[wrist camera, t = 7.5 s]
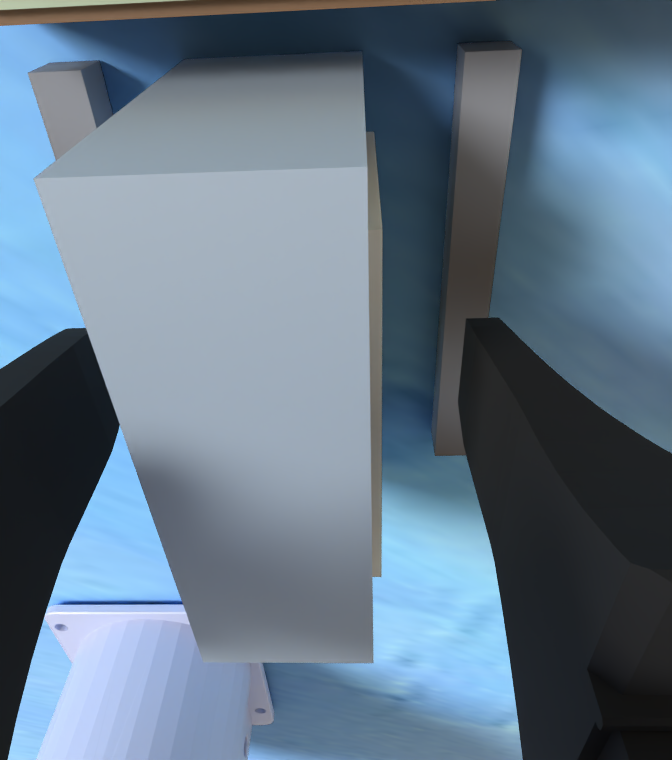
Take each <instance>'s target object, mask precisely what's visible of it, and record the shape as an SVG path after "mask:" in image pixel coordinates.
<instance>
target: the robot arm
mask: <svg viewBox="0 0 672 760" xmlns="http://www.w3.org/2000/svg"><path fill="white" fill-rule="evenodd" d="M458 408H459V416H460V423H461V431H462V438H463V444H464V449H465V452H466V456H467V460H468V464H469V467H470V471H471V475H472V478H473V482H474V485H475V489H476V493H477V496H478V500H479V503H480V507H481V511H482V514H483V518H484V522H485V525H486V529H487V532H488V536H489V540H490V544H491V548H492V553H493V557H494V561H495V567H496V573H497V579H498V585H499V591H500V597H501V604H502V610H503V616H504V623H505V630H506V636H507V643H508V650H509V656H510V663H511V671H512V678H513V686H514V693H515V700H516V708H517V715H518V723H519V731H520V740H521V748H522V756H523V760H672V453H670V452H668V451H666V450H664V449H663V448H661V447H659V446H658V445H656V444H654V443H652V442H651V441H649V440H647V439H646V438H644V437H643V436H641V435H639V434H638V433H636V432H635V431H633V430H632V429H630V428H629V427H627V426H626V425H624V424H623V423H621V422H620V421H618V420H617V419H615V418H614V417H612V416H611V415H609V414H608V413H607V412H605V411H604V410H602V409H601V408H600V407H598V406H597V405H596V404H594V403H593V402H592V401H591V400H589V399H588V398H587V397H585V396H584V395H583V394H582V393H580V392H579V391H578V390H576V389H575V388H574V387H573V386H572V385H570V384H569V383H568V382H567V381H566V380H564V379H563V378H562V377H561V376H560V375H559V374H557V373H556V372H555V371H554V370H553V369H552V368H551V367H550V366H548V365H547V364H546V363H545V362H544V361H543V360H542V359H541V358H540V357H539V356H538V355H537V354H535V353H534V352H533V351H532V350H531V349H530V348H529V347H528V346H527V345H526V344H525V343H524V342H523V341H522V340H521V339H520V338H519V337H518V336H517V335H516V334H515V333H514V332H513V331H512V330H511V329H510V328H509V327H508V326H507V325H506V324H505V323H504V322H503V321H502V320H500V319H499V318H466V323H465V334H464V344H463V354H462V364H461V374H460V384H459V394H458ZM119 426H120V424H119V421H118V418H117V415H116V412H115V409H114V406H113V404H112V401H111V398H110V395H109V392H108V389H107V387H106V384H105V381H104V378H103V375H102V372H101V369H100V367H99V364H98V361H97V358H96V355H95V352H94V349H93V347H92V344H91V341H90V338H89V335H88V332H87V330H86V328H72V329H65V330H63V331H61V332H59V333H57V334H55V335H54V336H52V337H50V338H48V339H47V340H45V341H43V342H42V343H40V344H39V345H37V346H35V347H34V348H32V349H31V350H29V351H28V352H26V353H25V354H23V355H21V356H20V357H18V358H17V359H15V360H14V361H12V362H11V363H9V364H8V365H6V366H5V367H3V368H1V369H0V760H7V759H8V755H9V750H10V745H11V741H12V736H13V732H14V727H15V723H16V718H17V714H18V710H19V707H20V703H21V699H22V695H23V691H24V687H25V683H26V679H27V676H28V672H29V668H30V664H31V660H32V657H33V653H34V650H35V646H36V643H37V640H38V636H39V633H40V630H41V626H42V623H43V619H44V617H45V620H46V622H47V623H48V625H49V627H50V628H51V630H52V631H53V633H54V635H55V636H56V638H57V640H58V641H59V643H60V644H61V646H62V648H63V649H64V651H65V653H66V654H67V656H68V657H69V659H70V661H71V662H72V667H71V670H70V672H69V675H68V677H67V680H66V683H65V685H64V688H63V690H62V693H61V696H60V698H59V701H58V703H57V706H56V709H55V711H54V714H53V717H52V719H51V722H50V724H49V727H48V730H47V732H46V735H45V737H44V740H43V743H42V745H41V748H40V750H39V753H38V756H37V758H36V760H248V754H249V746H250V738H251V731H252V725H269V724H271V723H272V722H273V721H274V709H273V705H272V701H271V696H270V692H269V688H268V684H267V679H266V675H265V671H264V667H263V663H222V662H203V660H202V657H201V654H200V651H199V648H198V646H197V643H196V640H195V637H194V634H193V631H192V628H191V626H190V623H189V620H188V617H187V614H186V611H185V609H184V606H183V604H142V605H53V606H50V607H49V608H48V610H47V612H46V609H47V606H48V603H49V600H50V597H51V594H52V591H53V588H54V585H55V582H56V579H57V576H58V573H59V570H60V567H61V564H62V562H63V559H64V557H65V554H66V552H67V549H68V547H69V544H70V542H71V540H72V538H73V536H74V533H75V531H76V529H77V527H78V525H79V523H80V520H81V518H82V516H83V514H84V512H85V510H86V507H87V505H88V503H89V501H90V499H91V497H92V494H93V492H94V490H95V488H96V486H97V484H98V481H99V479H100V477H101V475H102V473H103V470H104V468H105V466H106V464H107V461H108V459H109V457H110V454H111V452H112V449H113V446H114V443H115V440H116V436H117V433H118V429H119ZM45 613H46V614H45Z"/></svg>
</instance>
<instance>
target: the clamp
mask: <svg viewBox="0 0 672 760" xmlns="http://www.w3.org/2000/svg"><path fill="white" fill-rule="evenodd" d="M474 1H494V0H0V26H5V25H25V24H44V23H64V22H83V21H103V20H122V19H142V18H161V17H181V16H200V15H220V14H240V13H259V12H279V11H298V10H318V9H337V8H357V7H376V6H396V5H415V4H435V3H454V2H474ZM521 54H522V49H521V48H519V47H518V46H517V45H515V44H514V43H513V42H511V41H496V42H475V43H458V44H457V59H456V74H455V89H454V103H453V118H452V133H451V148H450V163H449V177H448V192H447V207H446V222H445V236H444V251H443V266H442V281H441V295H440V310H439V325H438V340H437V355H436V369H435V384H434V399H433V414H432V428H431V433H432V440H433V447H434V453H435V456H455V455H466V452H465V449H464V444H463V438H462V431H461V423H460V416H459V408H458V394H459V384H460V374H461V364H462V354H463V344H464V334H465V323H466V318H488V317H489V309H490V301H491V293H492V285H493V277H494V269H495V261H496V253H497V245H498V237H499V229H500V221H501V213H502V205H503V197H504V189H505V182H506V174H507V166H508V158H509V150H510V142H511V134H512V126H513V118H514V110H515V102H516V94H517V86H518V78H519V70H520V62H521ZM28 75H29V78H30V81H31V85H32V88H33V91H34V94H35V97H36V100H37V103H38V106H39V109H40V112H41V115H42V119H43V122H44V125H45V128H46V131H47V134H48V137H49V140H50V143H51V146H52V149H53V152H54V156H55V159H56V160H57V159H59V158H60V157H61V156H63V155H64V154H65V153H66V152H68V151H69V150H70V149H71V148H73V147H74V146H75V145H76V144H78V143H79V142H80V141H81V140H83V139H84V138H85V137H87V136H88V135H89V134H90V133H92V132H93V131H94V130H95V129H97V128H98V127H99V126H100V125H102V124H103V123H104V122H105V121H107V120H108V119H109V118H111V117H112V116H113V112H112V108H111V104H110V101H109V97H108V93H107V89H106V85H105V81H104V77H103V73H102V69H101V65H100V61H78V62H57V63H48V64H46V65H44V66H42V67H39V68H37V69H35V70H33V71H31V72H28Z"/></svg>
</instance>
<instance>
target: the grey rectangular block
mask: <svg viewBox="0 0 672 760" xmlns="http://www.w3.org/2000/svg"><path fill="white" fill-rule="evenodd" d="M34 182H35V184H36V187H37V190H38V193H39V196H40V199H41V201H42V204H43V207H44V210H45V213H46V216H47V219H48V221H49V224H50V227H51V230H52V233H53V236H54V238H55V241H56V244H57V247H58V250H59V253H60V256H61V258H62V261H63V264H64V267H65V270H66V273H67V275H68V278H69V281H70V284H71V287H72V290H73V293H74V295H75V298H76V301H77V304H78V307H79V310H80V312H81V315H82V318H83V321H84V324H85V327H86V330H87V332H88V335H89V338H90V341H91V344H92V347H93V349H94V352H95V355H96V358H97V361H98V364H99V367H100V369H101V372H102V375H103V378H104V381H105V384H106V387H107V389H108V392H109V395H110V398H111V401H112V404H113V406H114V409H115V412H116V415H117V418H118V421H119V424H120V426H121V429H122V432H123V435H124V438H125V441H126V443H127V446H128V449H129V452H130V455H131V458H132V461H133V463H134V466H135V469H136V472H137V475H138V478H139V480H140V483H141V486H142V489H143V492H144V495H145V498H146V500H147V503H148V506H149V509H150V512H151V515H152V517H153V520H154V523H155V526H156V529H157V532H158V535H159V537H160V540H161V543H162V546H163V549H164V552H165V554H166V557H167V560H168V563H169V566H170V569H171V572H172V574H173V577H174V580H175V583H176V586H177V589H178V591H179V594H180V597H181V600H182V603H183V606H184V609H185V611H186V614H187V617H188V620H189V623H190V626H191V628H192V631H193V634H194V637H195V640H196V643H197V646H198V648H199V651H200V654H201V657H202V660H203V662H222V663H373V594H372V577H381V534H382V240H383V229H382V217H381V205H380V194H379V182H378V170H377V158H376V147H375V135H374V131H371V132H366V125H365V103H364V80H363V58H362V51H352V52H330V53H308V54H286V55H263V56H241V57H219V58H197V59H184V60H182V61H181V62H180V63H179V64H177V65H176V66H175V67H174V68H172V69H171V70H170V71H169V72H167V73H166V74H165V75H164V76H162V77H161V78H160V79H158V80H157V81H156V82H155V83H153V84H152V85H151V86H150V87H148V88H147V89H146V90H145V91H143V92H142V93H141V94H140V95H138V96H137V97H136V98H134V99H133V100H132V101H131V102H129V103H128V104H127V105H126V106H124V107H123V108H122V109H121V110H119V111H118V112H117V113H116V114H114V115H113V116H112V117H111V118H109V119H108V120H107V121H105V122H104V123H103V124H102V125H100V126H99V127H98V128H97V129H95V130H94V131H93V132H92V133H90V134H89V135H88V136H87V137H85V138H84V139H83V140H81V141H80V142H79V143H78V144H76V145H75V146H74V147H73V148H71V149H70V150H69V151H68V152H66V153H65V154H64V155H63V156H61V157H60V158H59V159H57V160H56V161H55V162H54V163H52V164H51V165H50V166H49V167H47V168H46V169H45V170H44V171H42V172H41V173H40V174H39V175H37V176H36V177H35V178H34Z"/></svg>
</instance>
